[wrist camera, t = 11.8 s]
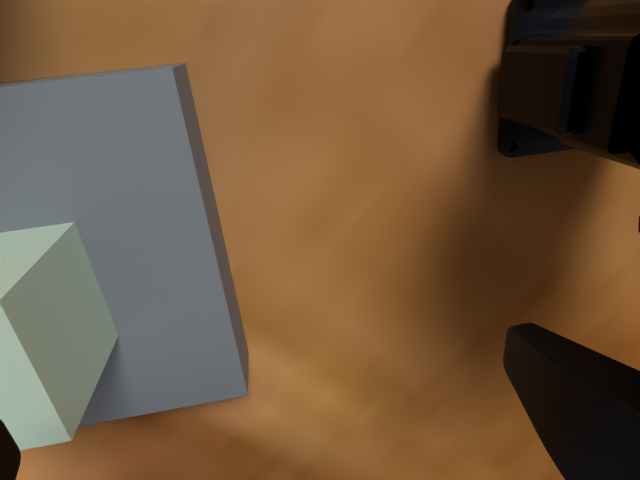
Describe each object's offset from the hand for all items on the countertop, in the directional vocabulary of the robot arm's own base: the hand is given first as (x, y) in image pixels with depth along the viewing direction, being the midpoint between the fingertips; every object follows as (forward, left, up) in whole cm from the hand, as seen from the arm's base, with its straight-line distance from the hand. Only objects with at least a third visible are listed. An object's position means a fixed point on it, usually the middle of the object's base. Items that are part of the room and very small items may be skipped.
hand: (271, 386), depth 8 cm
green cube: (+9, +2, -9) cm, 13 cm away
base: (+9, +2, -12) cm, 15 cm away
